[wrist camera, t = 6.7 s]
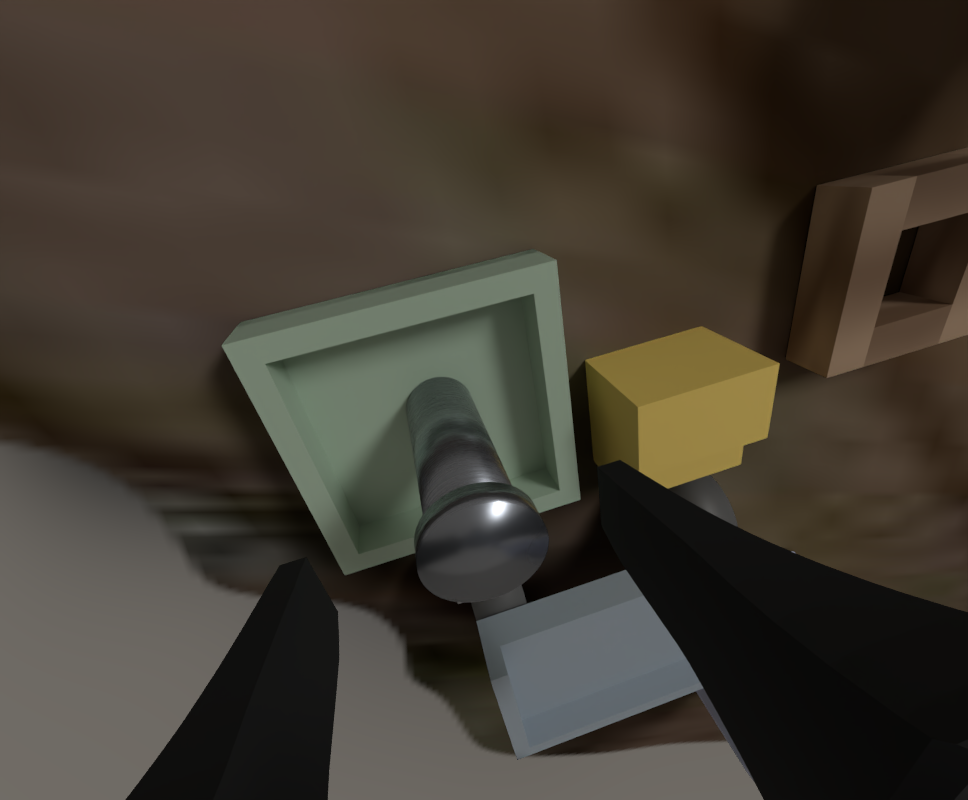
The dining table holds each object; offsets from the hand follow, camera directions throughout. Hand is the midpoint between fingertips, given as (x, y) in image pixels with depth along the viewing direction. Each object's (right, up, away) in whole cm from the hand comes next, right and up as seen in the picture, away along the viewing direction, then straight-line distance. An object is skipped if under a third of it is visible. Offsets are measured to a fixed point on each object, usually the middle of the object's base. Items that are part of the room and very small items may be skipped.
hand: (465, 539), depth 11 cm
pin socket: (+16, +9, +7) cm, 20 cm away
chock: (+7, +4, +8) cm, 11 cm away
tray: (-2, +3, +6) cm, 7 cm away
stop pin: (-1, +3, +5) cm, 6 cm away
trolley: (+5, -4, +11) cm, 13 cm away
